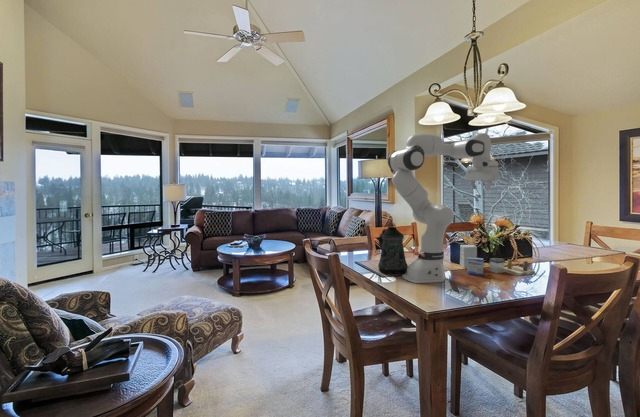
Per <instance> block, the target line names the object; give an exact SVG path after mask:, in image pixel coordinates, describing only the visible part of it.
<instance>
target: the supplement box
mask: <svg viewBox="0 0 640 417" xmlns="http://www.w3.org/2000/svg"><path fill="white" fill-rule="evenodd" d="M459 248H460V249H459V266H461V267H462V269H463V268H464V269H467V259H468V257H472V258H478V247H477V246H476V245H474V244H460V245H459Z"/></svg>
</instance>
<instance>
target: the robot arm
mask: <svg viewBox="0 0 640 417" xmlns="http://www.w3.org/2000/svg"><path fill="white" fill-rule="evenodd" d="M491 141H492V139H491V136H490V134H488V133H483V132H480V133H476V134H474V135H473V136H472V137H471V138H468V139H465V140H458V141H456V140H455V141H453V142H450V143H444V140H443V139H442V137H441V136H439V135H436V134H427V133H425V134H424V133H420V134H419V133H418V134H413V135H411V136H409V137H408V138H407V141H406V143H405V144H406V146H405V148H401V149H398V150H397V149H396V150H394V151H392V152H391V153H390V154H389V155H388V157H387V164H388V168H389V169H390V172H391V173H392V174H393V175H392V178H391V183H392V185H393V187H394V188H395V190H396V191H397V193H398V194H399V195H400V197H402V199H403V200H404V201H405V202H406V203H407V205H408V206H410V208H411V210H412V216H413V219H414V220H415V221H417V222H418V223H421V224H424V225H426V228H425V231H424V232H423V233H422V234H421V235H420V236H421V237H420V250H419V251H417V250H415V251H414V253H413V254H414V255H415V256H417V257H416V259H414V261H412V262H411V263H409V264H408V268H407V272H406V273H405V274H401V275H402V278H403V280H406V281H407V282H408V281H409V282H410V283H414V284H427V283H428V284H429V283H444V282H445V280H446V279H447V277H446V274H445V268H444V257H445V253H444V252H445V251H444V236H445V233H446V230H447V228H448V227H449V226H450V225H451V224H452V223H453V221H454V219H455V218H454V216H455V215H454V214H455V213H454V211H453V210H452V209H451V208H450V207H448V206H446V205H443V204H435V203H432V202H431V201H430V200H429V198H428V197H429V193H428V191H427V190H426V189H425V187H423V185H422V184H421V183H420V181H419V180H417V179H416V178H415V176H414V175H413V171H416V170H418V169H421V167H423V164H424V162H425V157H436V156H440V155H442V156H446V157H448V158H450V159H452V160H455V161H456V160H460V159H469V158H472V164H469V165H468V166H467V167H466V171H465V181H466V182H468V181H469V182H470V184H471V188H472V190H477V189H478V188H477V185H476V182H477V181H478V182H479V181H480V182H483V181H486V183H487V184H486V185H485V190H490V189H491V186H492V183H493V181H495V182H496V181H498V180H499V178H500V173H499V172H500V170H499V162H498V161H495V160H493V159H492V158H491V152H492V150H491V149H492V142H491ZM491 159H492V160H491Z"/></svg>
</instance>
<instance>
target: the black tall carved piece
mask: <svg viewBox="0 0 640 417" xmlns="http://www.w3.org/2000/svg"><path fill="white" fill-rule="evenodd" d="M404 238H405V235H404V234H403V233H402V232H400V231H399V230H398V229H397V227H396V226H395V227H394V226H387V228H384V229H382V231H381V233H380V234H379V237H378V245H379V248H380V251H381V253H380V256H379V261H378V264H377V265H378V266H377V267H378V271H379V272H380V273H381V274H385V275H393V276H394V275H395V276H398V275H403V274H407V268H408V266H409V264H408V263H407V260H406V255H405V250H404V248H405V247H404V242H403V240H404Z"/></svg>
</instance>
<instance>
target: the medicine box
mask: <svg viewBox="0 0 640 417" xmlns="http://www.w3.org/2000/svg"><path fill="white" fill-rule="evenodd" d="M484 259H485V258H482V257H477V258H472V257H468V259H467V268H466V274H468V275H474V276H475V275H476V276H483V275H484V261H485V260H484Z"/></svg>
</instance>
